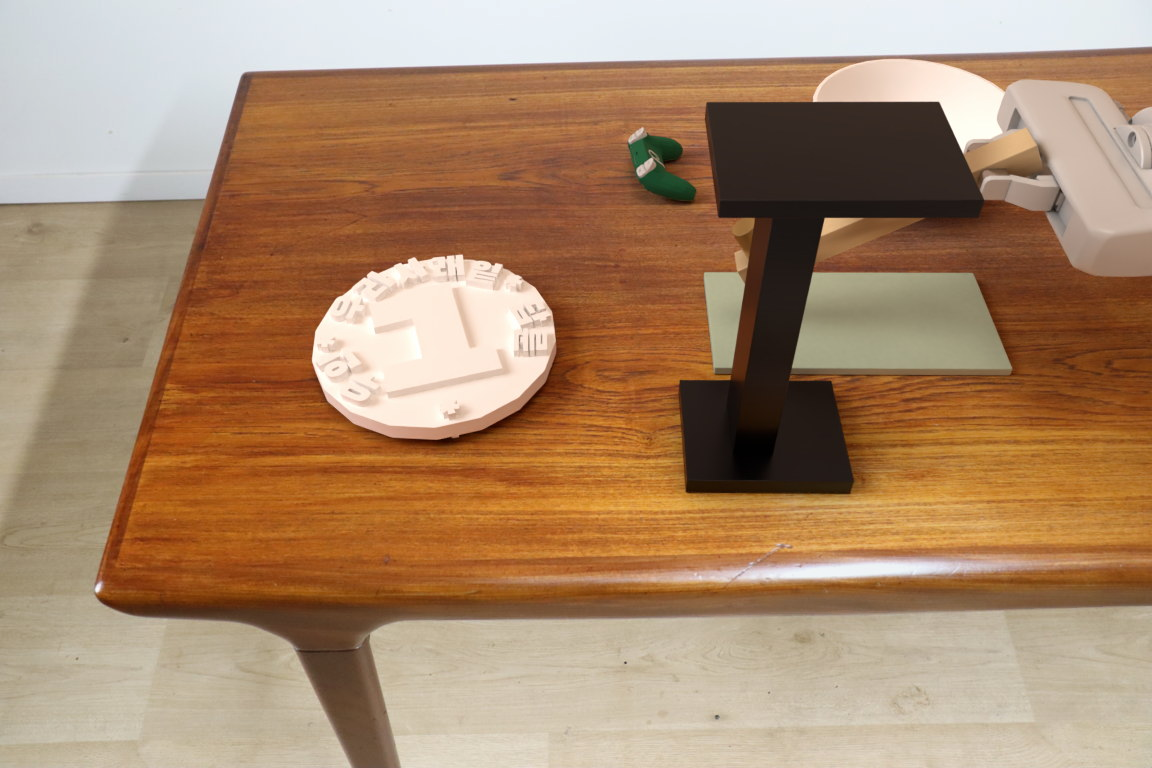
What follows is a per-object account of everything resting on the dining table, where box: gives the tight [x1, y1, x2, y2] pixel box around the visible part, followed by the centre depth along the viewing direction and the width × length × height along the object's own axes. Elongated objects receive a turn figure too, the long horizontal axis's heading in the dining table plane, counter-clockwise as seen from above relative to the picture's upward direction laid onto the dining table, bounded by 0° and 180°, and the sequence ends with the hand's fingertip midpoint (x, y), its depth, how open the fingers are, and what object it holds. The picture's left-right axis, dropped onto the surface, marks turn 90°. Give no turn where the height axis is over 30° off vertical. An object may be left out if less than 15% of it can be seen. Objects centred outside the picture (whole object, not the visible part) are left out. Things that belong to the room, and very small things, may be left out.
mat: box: [703, 271, 1013, 376], centre depth 81 cm, size 24×12×1 cm, turn 89°
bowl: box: [812, 58, 1006, 152], centre depth 92 cm, size 20×20×8 cm
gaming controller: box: [627, 126, 698, 202], centre depth 95 cm, size 9×4×6 cm
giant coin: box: [311, 254, 557, 441], centre depth 78 cm, size 20×20×3 cm
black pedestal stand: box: [677, 101, 986, 495], centre depth 63 cm, size 14×10×26 cm
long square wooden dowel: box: [731, 128, 1044, 284], centre depth 72 cm, size 23×2×5 cm, turn 90°
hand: (973, 169), depth 70 cm, fingers closed on long square wooden dowel, 2 cm apart
